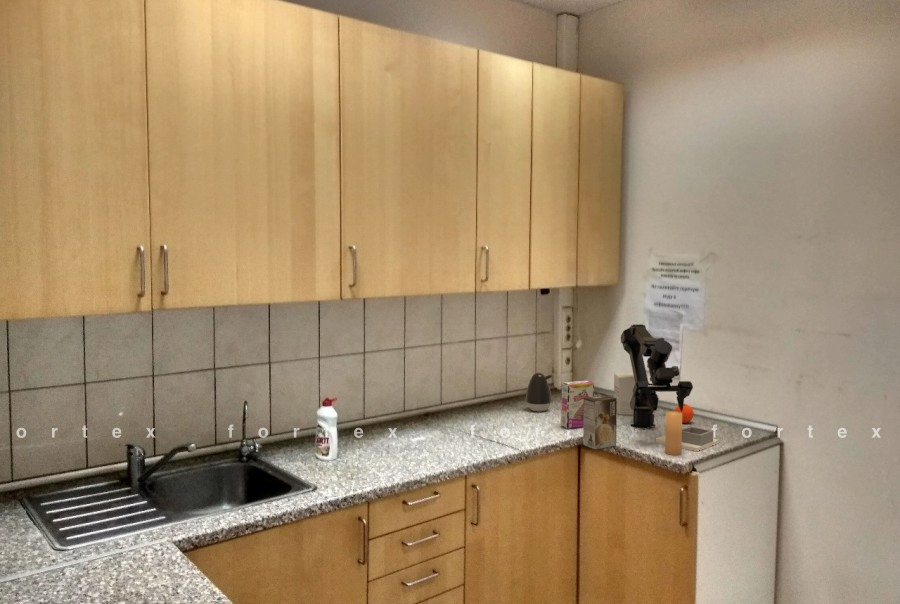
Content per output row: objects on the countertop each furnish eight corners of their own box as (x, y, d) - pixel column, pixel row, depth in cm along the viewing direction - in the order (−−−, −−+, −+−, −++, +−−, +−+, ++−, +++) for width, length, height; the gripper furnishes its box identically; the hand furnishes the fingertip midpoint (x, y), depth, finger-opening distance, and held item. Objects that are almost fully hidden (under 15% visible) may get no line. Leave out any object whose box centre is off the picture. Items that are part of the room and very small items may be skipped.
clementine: (670, 419, 271) (671, 401, 271) (689, 419, 271) (689, 401, 270) (676, 424, 263) (677, 405, 263) (695, 425, 263) (696, 406, 263)
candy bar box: (567, 429, 257) (568, 384, 255) (560, 426, 261) (560, 382, 260) (594, 426, 261) (594, 382, 260) (586, 423, 266) (586, 379, 264)
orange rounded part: (661, 453, 229) (662, 413, 227) (670, 449, 232) (671, 410, 231) (676, 456, 225) (677, 415, 224) (684, 453, 228) (685, 413, 227)
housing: (655, 442, 241) (656, 428, 240) (677, 434, 250) (677, 421, 250) (697, 451, 230) (697, 437, 229) (718, 443, 239) (718, 429, 239)
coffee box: (604, 441, 242) (605, 394, 241) (616, 446, 236) (617, 398, 235) (582, 444, 238) (583, 397, 237) (594, 449, 232) (595, 401, 231)
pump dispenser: (553, 413, 281) (553, 375, 280) (526, 413, 281) (527, 375, 280) (550, 407, 291) (550, 370, 290) (524, 407, 292) (524, 370, 290)
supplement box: (635, 409, 287) (636, 372, 286) (641, 415, 278) (642, 377, 277) (613, 409, 287) (613, 372, 286) (618, 415, 278) (619, 377, 277)
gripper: (635, 357, 237) (644, 397, 227) (691, 357, 238) (703, 397, 228) (628, 376, 246) (637, 416, 236) (683, 376, 246) (693, 415, 236)
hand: (667, 410), depth 233 cm, fingers open, 9 cm apart
